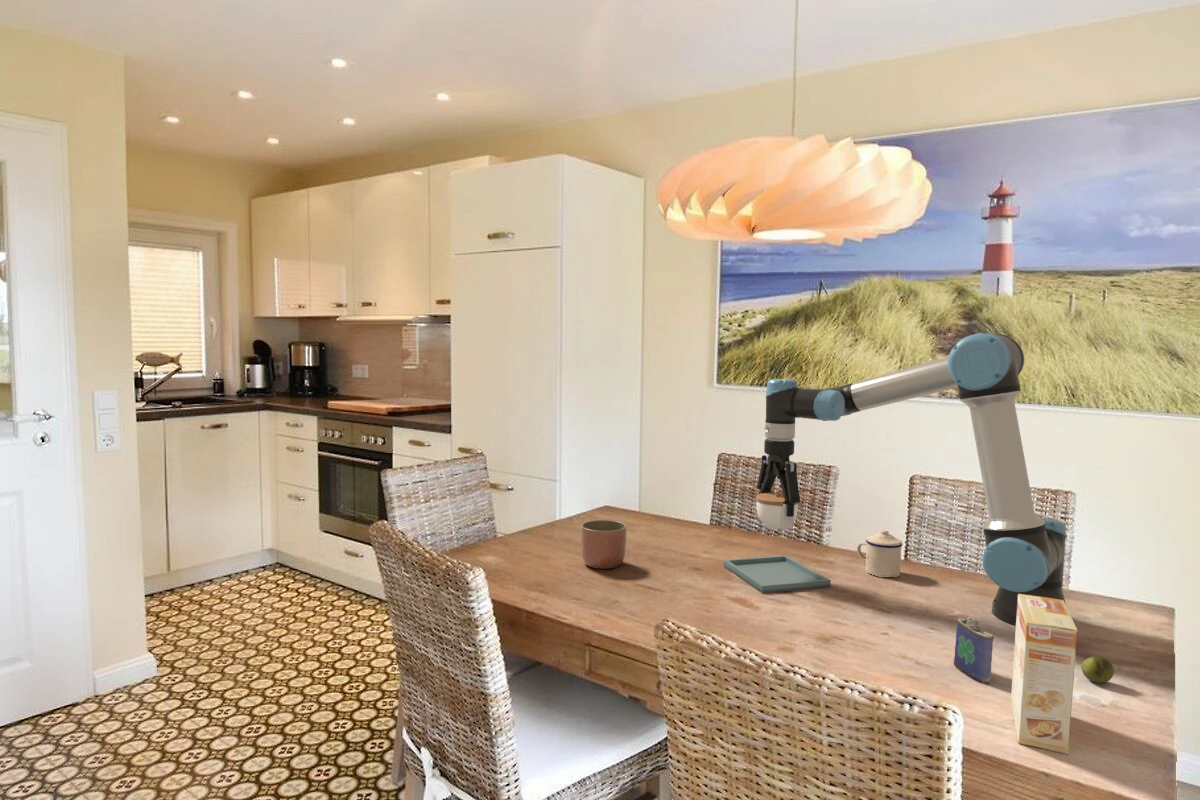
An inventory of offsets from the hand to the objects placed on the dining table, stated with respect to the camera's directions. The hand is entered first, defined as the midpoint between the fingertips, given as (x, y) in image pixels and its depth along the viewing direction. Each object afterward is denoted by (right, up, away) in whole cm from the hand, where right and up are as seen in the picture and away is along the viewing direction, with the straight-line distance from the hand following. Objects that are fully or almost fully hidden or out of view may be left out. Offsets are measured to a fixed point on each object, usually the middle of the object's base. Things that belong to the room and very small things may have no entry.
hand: (776, 523), depth 195 cm
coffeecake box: (+25, -21, -73) cm, 80 cm away
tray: (0, -14, +1) cm, 14 cm away
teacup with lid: (+29, -14, +6) cm, 33 cm away
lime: (+45, -20, -57) cm, 76 cm away
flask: (+24, -20, -54) cm, 62 cm away
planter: (-45, -13, +9) cm, 48 cm away
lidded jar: (0, -1, 0) cm, 1 cm away
